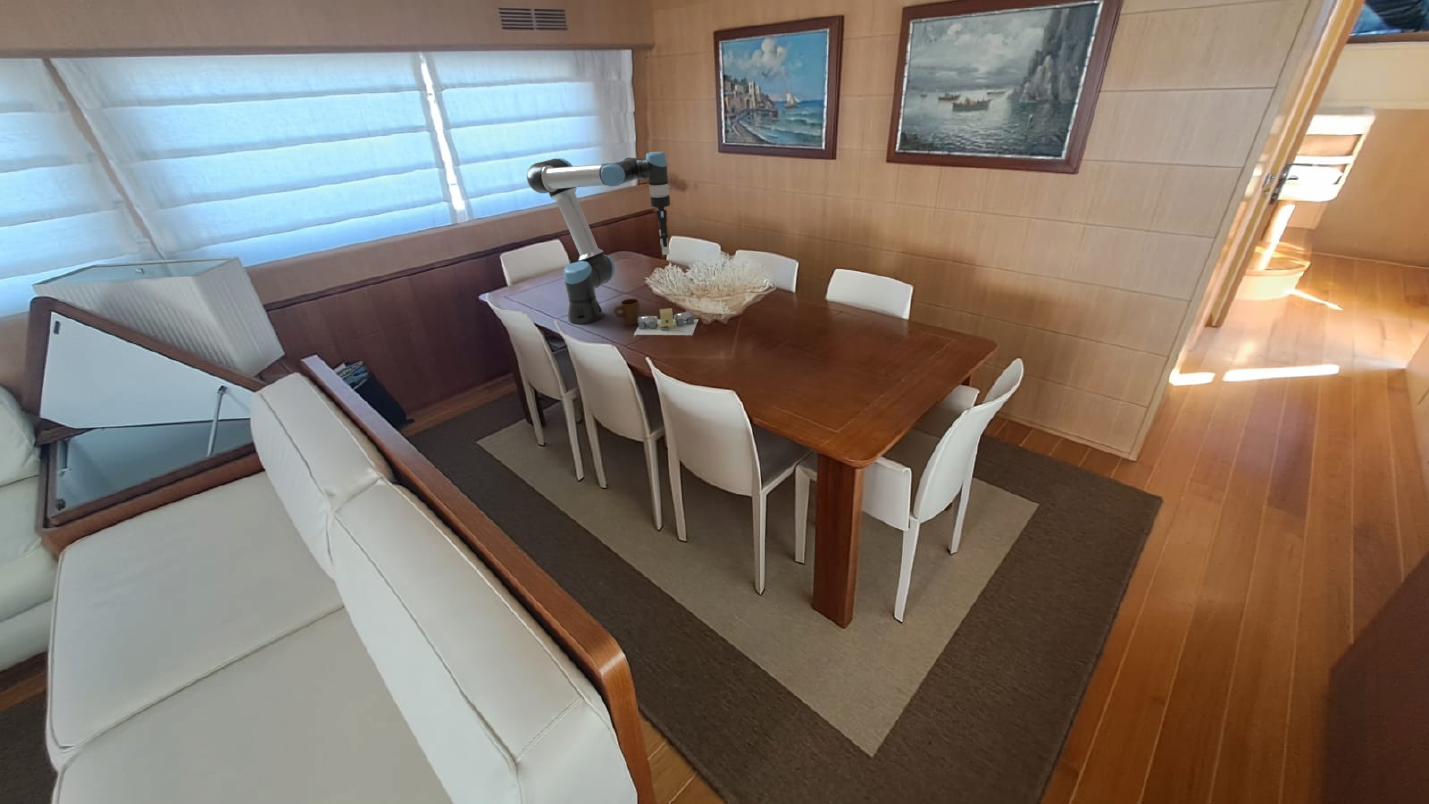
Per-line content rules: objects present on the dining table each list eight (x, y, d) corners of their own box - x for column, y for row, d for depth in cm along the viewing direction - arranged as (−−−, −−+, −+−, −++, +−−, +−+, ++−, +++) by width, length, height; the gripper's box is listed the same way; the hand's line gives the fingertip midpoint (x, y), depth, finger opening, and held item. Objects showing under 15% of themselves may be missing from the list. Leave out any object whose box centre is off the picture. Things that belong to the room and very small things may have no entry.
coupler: (674, 328, 222) (672, 312, 218) (661, 329, 221) (660, 313, 218) (673, 324, 226) (671, 308, 222) (661, 325, 226) (659, 309, 222)
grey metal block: (677, 326, 223) (676, 316, 221) (674, 323, 227) (673, 312, 224) (694, 323, 225) (694, 313, 223) (690, 319, 229) (690, 309, 227)
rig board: (634, 337, 219) (633, 332, 218) (643, 321, 233) (642, 316, 232) (692, 337, 216) (692, 332, 215) (698, 322, 230) (698, 317, 228)
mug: (621, 330, 226) (618, 309, 221) (611, 325, 231) (608, 304, 226) (645, 322, 232) (642, 301, 228) (635, 317, 237) (632, 297, 233)
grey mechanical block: (638, 328, 223) (636, 318, 221) (641, 324, 227) (639, 314, 225) (656, 329, 222) (654, 318, 220) (658, 324, 226) (657, 314, 224)
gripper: (671, 200, 201) (676, 257, 212) (667, 189, 223) (672, 241, 234) (651, 202, 201) (657, 259, 212) (649, 190, 222) (654, 242, 233)
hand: (665, 249), depth 223 cm, fingers open, 13 cm apart
